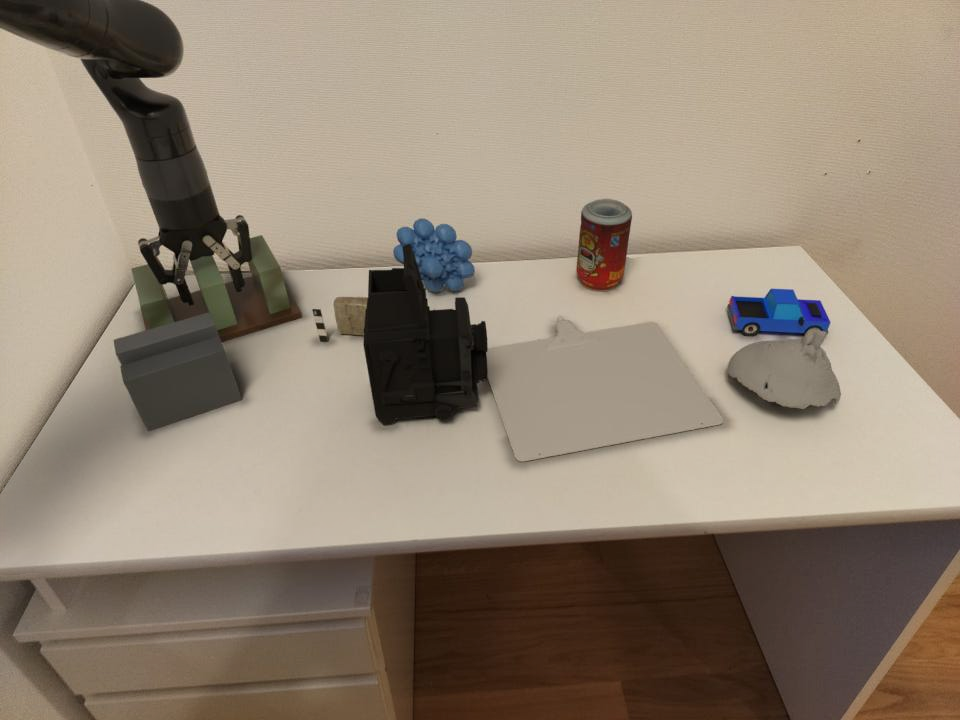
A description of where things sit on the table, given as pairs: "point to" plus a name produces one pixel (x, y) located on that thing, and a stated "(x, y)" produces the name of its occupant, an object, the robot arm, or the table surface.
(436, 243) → the grapes
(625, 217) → the soda can
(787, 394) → the grey clay mound
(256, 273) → the book rack
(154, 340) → the grey grooved block
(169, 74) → the robot arm
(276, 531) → the table surface
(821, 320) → the toy car
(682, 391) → the grey rectangular panel
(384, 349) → the camera
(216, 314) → the green book
